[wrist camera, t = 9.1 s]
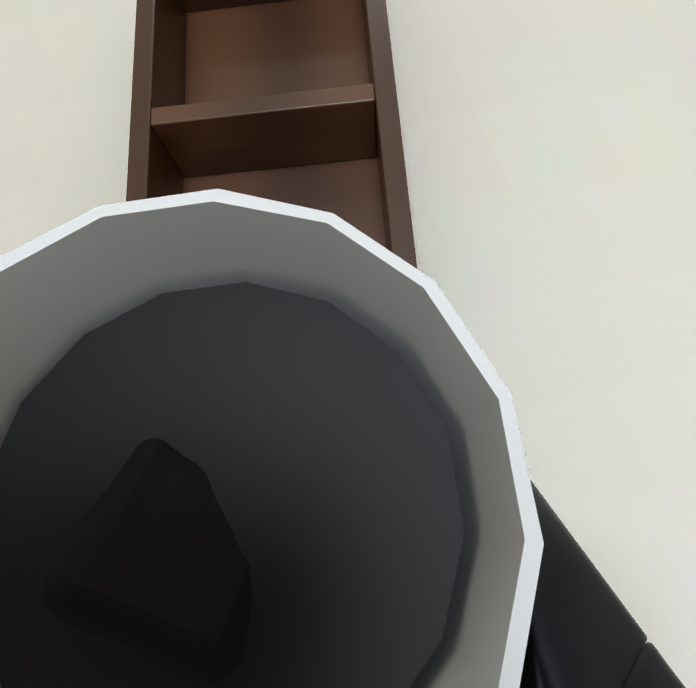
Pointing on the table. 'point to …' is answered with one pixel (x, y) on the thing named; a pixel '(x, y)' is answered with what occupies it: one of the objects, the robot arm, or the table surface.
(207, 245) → the white cup
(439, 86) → the table surface
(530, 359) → the table surface
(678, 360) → the table surface
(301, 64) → the tray
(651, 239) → the table surface
